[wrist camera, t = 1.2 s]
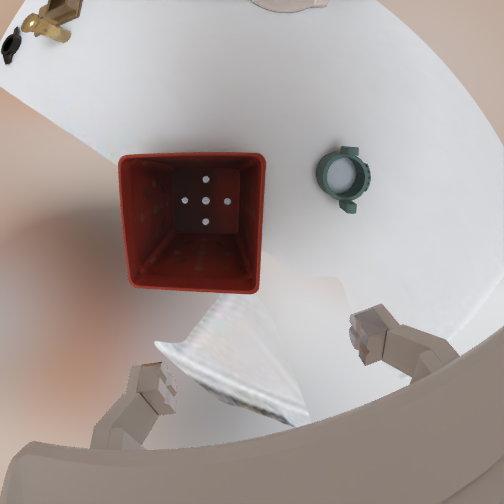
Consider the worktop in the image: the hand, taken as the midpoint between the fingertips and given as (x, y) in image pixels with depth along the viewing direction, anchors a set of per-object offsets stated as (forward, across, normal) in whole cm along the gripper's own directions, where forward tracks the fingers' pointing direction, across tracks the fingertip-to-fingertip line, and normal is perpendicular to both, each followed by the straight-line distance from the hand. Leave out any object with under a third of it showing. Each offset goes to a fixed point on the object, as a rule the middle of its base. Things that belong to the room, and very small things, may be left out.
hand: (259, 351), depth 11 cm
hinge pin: (+50, +26, -41) cm, 70 cm away
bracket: (+40, -22, +4) cm, 45 cm away
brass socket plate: (+51, +28, -50) cm, 77 cm away
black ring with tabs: (+54, +44, -50) cm, 86 cm away
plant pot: (+43, +3, +5) cm, 43 cm away
